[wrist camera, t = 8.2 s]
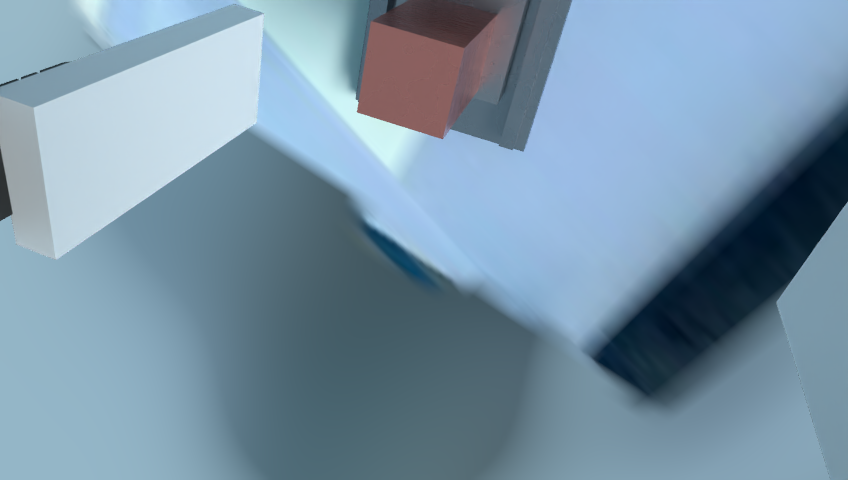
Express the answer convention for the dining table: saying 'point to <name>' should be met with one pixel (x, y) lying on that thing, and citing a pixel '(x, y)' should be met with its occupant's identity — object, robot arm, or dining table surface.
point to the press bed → (524, 80)
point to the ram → (438, 60)
